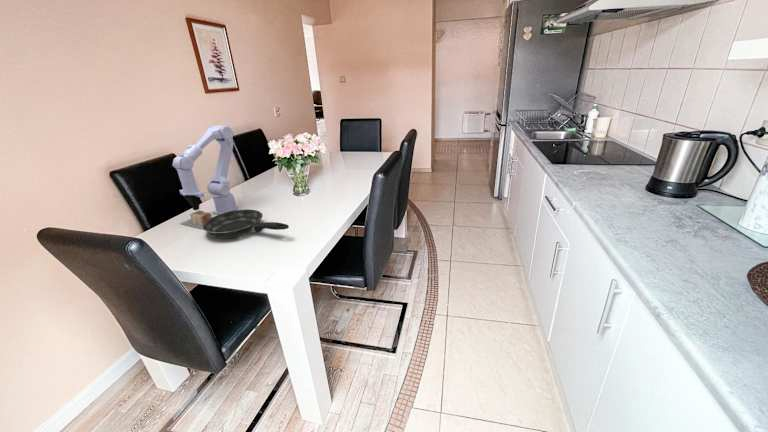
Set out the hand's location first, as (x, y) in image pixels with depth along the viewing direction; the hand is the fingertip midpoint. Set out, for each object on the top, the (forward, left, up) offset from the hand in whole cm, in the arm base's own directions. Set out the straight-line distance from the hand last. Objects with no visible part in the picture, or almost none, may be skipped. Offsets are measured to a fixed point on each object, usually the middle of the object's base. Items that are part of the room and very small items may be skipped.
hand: (196, 209), depth 150 cm
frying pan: (-1, +31, -7) cm, 32 cm away
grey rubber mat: (0, +2, -6) cm, 7 cm away
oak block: (0, -2, -4) cm, 4 cm away
